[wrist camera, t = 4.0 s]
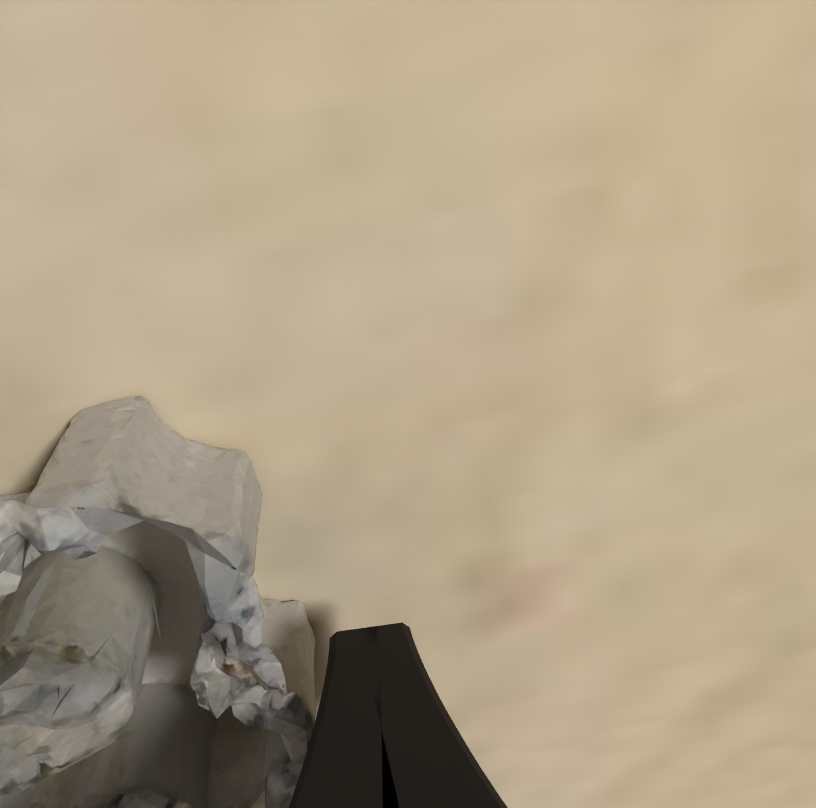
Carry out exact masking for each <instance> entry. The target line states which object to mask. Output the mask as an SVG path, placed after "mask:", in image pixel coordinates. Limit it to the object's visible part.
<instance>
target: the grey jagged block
mask: <svg viewBox="0 0 816 808" xmlns="http://www.w3.org/2000/svg"><path fill="white" fill-rule="evenodd" d="M261 502H262V491H261V488H260V485H259V482H258V480H257V477H256V474H255V471H254V468H253V465H252V460H251V459H250V458H249V456H248V455H247V453H246V452H245V450H241V449H225V448H218V447H211V446H208V445H205V444H202V443H199V442H197V441H193V440H188V439H184V438H183V437H181V436H180V435H179V434H177V433H176V432H175V431H173V430H172V429H171V428H169V427H168V426H166V425H165V424H164V423H163V422H162V421H161V419H160V418H159V417H158V416H157V414H156V413H155V412H154V411H153V409H152V408H151V406H150V405H149V403H148V401H147V400H146V398H143V397H141V396H131V397H126V398H122V399H118V400H113V401H109V402H105V403H101V404H98V405H95V406H92V407H88V408H85V409H82V410H80V412H79V413H78V414H77V415H76V416H75V417H74V418H73V419H72V420H71V423H70V426H69V427H68V429H67V430H66V432H65V433H64V434H63V436H62V437H61V439H60V441H59V443H58V444H57V446H56V448H55V450H54V452H53V454H52V456H51V458H50V460H49V461H48V463H47V465H46V466H45V468H44V470H43V472H42V473H41V475H40V478H39V481H38V483H37V485H36V487H35V488H34V489H33V490H32V492H27V493H21V494H12V495H1V496H0V808H289V805H290V802H291V799H292V796H293V793H294V790H295V787H296V784H297V781H298V779H299V776H300V773H301V770H302V766H303V763H304V760H305V756H306V753H307V749H308V746H309V742H310V739H311V735H312V731H313V728H314V724H315V713H316V708H315V686H314V648H315V643H316V642H315V638H314V635H313V631H312V628H311V626H310V624H309V622H308V618H307V614H306V610H305V606H304V605H303V604H302V603H301V602H300V601H295V600H294V601H289V602H279V601H275V600H270V599H260V595H259V591H258V586H257V584H256V582H255V580H254V578H253V573H254V570H255V556H256V541H257V532H258V522H259V516H260V510H261Z"/></svg>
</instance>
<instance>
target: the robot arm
mask: <svg viewBox="0 0 816 808" xmlns="http://www.w3.org/2000/svg"><path fill="white" fill-rule="evenodd" d="M289 808H507V806H506V805H505V803H504V802H503V800H502V799H501V798H500V796H499V795H498V793H497V792H496V790H495V789H494V787H493V786H492V784H491V783H490V781H489V780H488V778H487V777H486V775H485V774H484V772H483V771H482V769H481V768H480V766H479V764H478V763H477V761H476V760H475V758H474V756H473V755H472V753H471V752H470V750H469V748H468V747H467V745H466V743H465V742H464V740H463V738H462V736H461V735H460V733H459V731H458V730H457V728H456V726H455V724H454V723H453V721H452V719H451V718H450V716H449V714H448V712H447V711H446V709H445V707H444V705H443V703H442V701H441V700H440V698H439V696H438V694H437V692H436V690H435V688H434V686H433V684H432V682H431V680H430V678H429V676H428V674H427V672H426V669H425V667H424V665H423V663H422V660H421V658H420V656H419V653H418V651H417V648H416V646H415V643H414V640H413V637H412V634H411V631H410V628H409V627H408V626H406V625H405V624H403V623H396V624H389V625H382V626H375V627H368V628H360V629H353V630H346V631H339V632H336V633H335V634H334V635H333V636H332V637H331V638H330V644H329V657H328V664H327V671H326V676H325V682H324V687H323V691H322V696H321V700H320V705H319V709H318V713H317V717H316V721H315V724H314V728H313V731H312V735H311V739H310V742H309V746H308V749H307V753H306V756H305V760H304V763H303V766H302V770H301V773H300V776H299V779H298V781H297V784H296V787H295V790H294V793H293V796H292V799H291V802H290V805H289Z"/></svg>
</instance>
